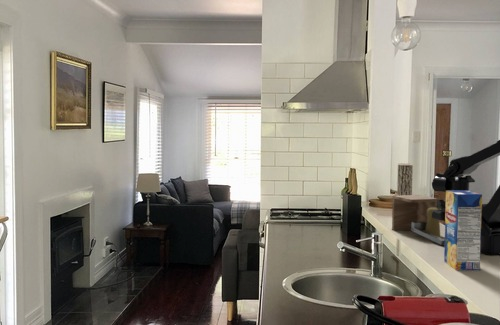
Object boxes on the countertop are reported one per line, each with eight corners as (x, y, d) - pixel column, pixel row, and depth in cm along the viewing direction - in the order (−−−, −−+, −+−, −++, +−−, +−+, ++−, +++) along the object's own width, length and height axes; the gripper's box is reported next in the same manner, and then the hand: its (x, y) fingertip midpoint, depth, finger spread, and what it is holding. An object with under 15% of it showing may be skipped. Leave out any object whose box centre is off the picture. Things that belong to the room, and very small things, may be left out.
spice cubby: (437, 234, 211) (437, 198, 210) (410, 235, 208) (411, 199, 207) (417, 228, 224) (417, 194, 223) (392, 229, 221) (392, 195, 220)
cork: (441, 239, 202) (443, 210, 201) (424, 237, 203) (426, 209, 202) (439, 234, 208) (441, 206, 207) (422, 233, 209) (425, 205, 208)
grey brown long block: (471, 246, 188) (473, 224, 187) (448, 248, 185) (450, 225, 184) (432, 229, 210) (433, 209, 209) (411, 230, 207) (412, 210, 206)
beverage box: (455, 270, 156) (457, 194, 155) (444, 261, 167) (445, 190, 166) (480, 270, 155) (482, 194, 154) (466, 261, 166) (468, 190, 165)
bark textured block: (393, 215, 259) (394, 163, 258) (404, 214, 262) (405, 163, 261) (403, 217, 253) (404, 164, 252) (414, 216, 256) (415, 164, 255)
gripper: (467, 191, 199) (466, 233, 200) (423, 192, 193) (422, 235, 194) (488, 194, 188) (487, 239, 189) (442, 196, 183) (441, 241, 184)
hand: (458, 238), depth 189 cm, fingers closed on grey brown long block, 4 cm apart
